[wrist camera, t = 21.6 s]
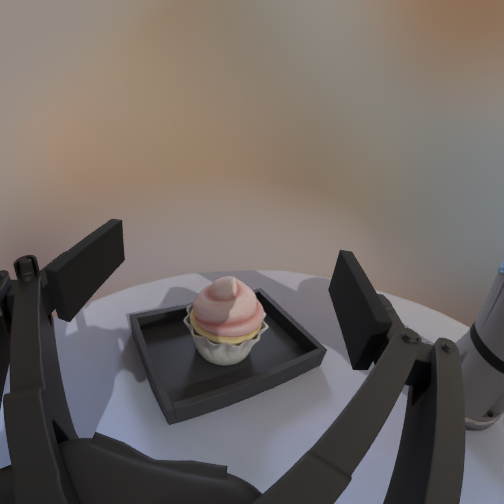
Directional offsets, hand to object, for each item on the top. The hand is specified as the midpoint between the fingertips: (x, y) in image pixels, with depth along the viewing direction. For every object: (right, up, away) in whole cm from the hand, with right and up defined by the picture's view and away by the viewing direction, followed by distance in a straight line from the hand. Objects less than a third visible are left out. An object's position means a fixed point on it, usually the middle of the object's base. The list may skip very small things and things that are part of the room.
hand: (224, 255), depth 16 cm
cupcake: (-2, -11, +16) cm, 20 cm away
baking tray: (-2, -12, +16) cm, 20 cm away
